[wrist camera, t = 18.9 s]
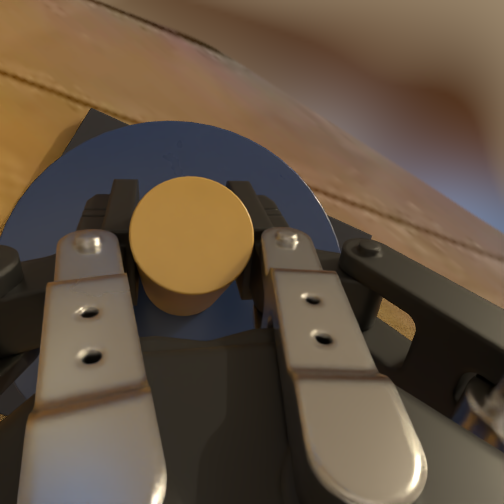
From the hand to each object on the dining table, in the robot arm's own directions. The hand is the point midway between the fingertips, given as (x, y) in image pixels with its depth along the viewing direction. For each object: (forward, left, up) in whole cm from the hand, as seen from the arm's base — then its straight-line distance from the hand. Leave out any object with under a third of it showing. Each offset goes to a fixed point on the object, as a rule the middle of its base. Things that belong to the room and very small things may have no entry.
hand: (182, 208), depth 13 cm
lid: (+1, +2, -2) cm, 3 cm away
